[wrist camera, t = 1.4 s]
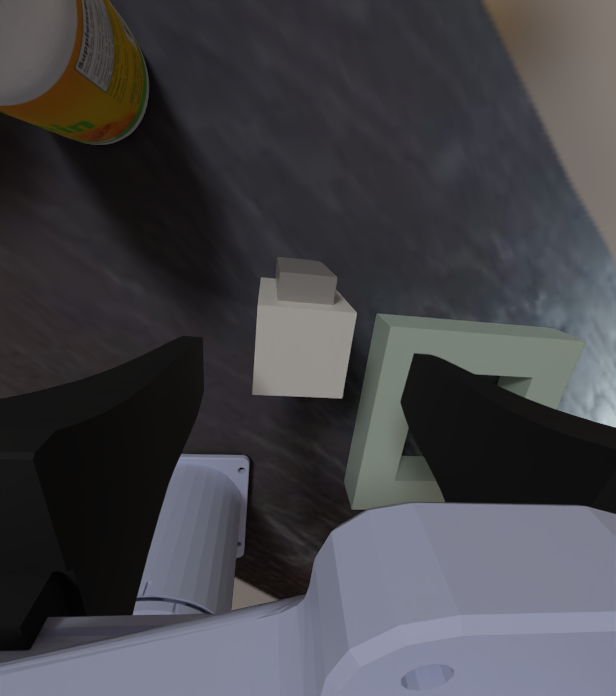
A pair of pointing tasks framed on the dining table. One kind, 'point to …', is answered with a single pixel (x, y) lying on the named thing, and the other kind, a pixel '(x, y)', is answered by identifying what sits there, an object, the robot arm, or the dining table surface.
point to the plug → (302, 332)
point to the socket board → (462, 350)
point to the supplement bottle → (71, 69)
